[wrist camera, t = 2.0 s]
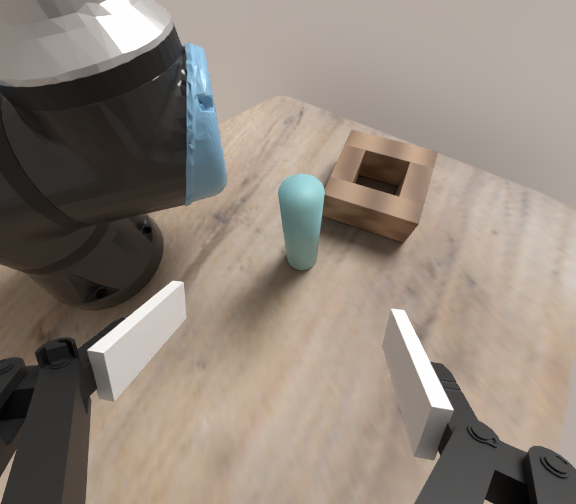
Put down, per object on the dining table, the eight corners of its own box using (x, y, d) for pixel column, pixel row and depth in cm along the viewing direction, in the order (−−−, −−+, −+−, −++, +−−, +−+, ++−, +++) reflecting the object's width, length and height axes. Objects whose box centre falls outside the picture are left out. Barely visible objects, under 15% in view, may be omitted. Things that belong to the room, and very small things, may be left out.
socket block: (320, 215, 38) (322, 193, 34) (346, 155, 42) (351, 129, 38) (403, 242, 36) (418, 223, 31) (422, 176, 40) (437, 151, 35)
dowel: (282, 263, 35) (270, 203, 23) (293, 239, 37) (289, 168, 24) (310, 274, 34) (314, 217, 22) (321, 248, 36) (331, 181, 23)
